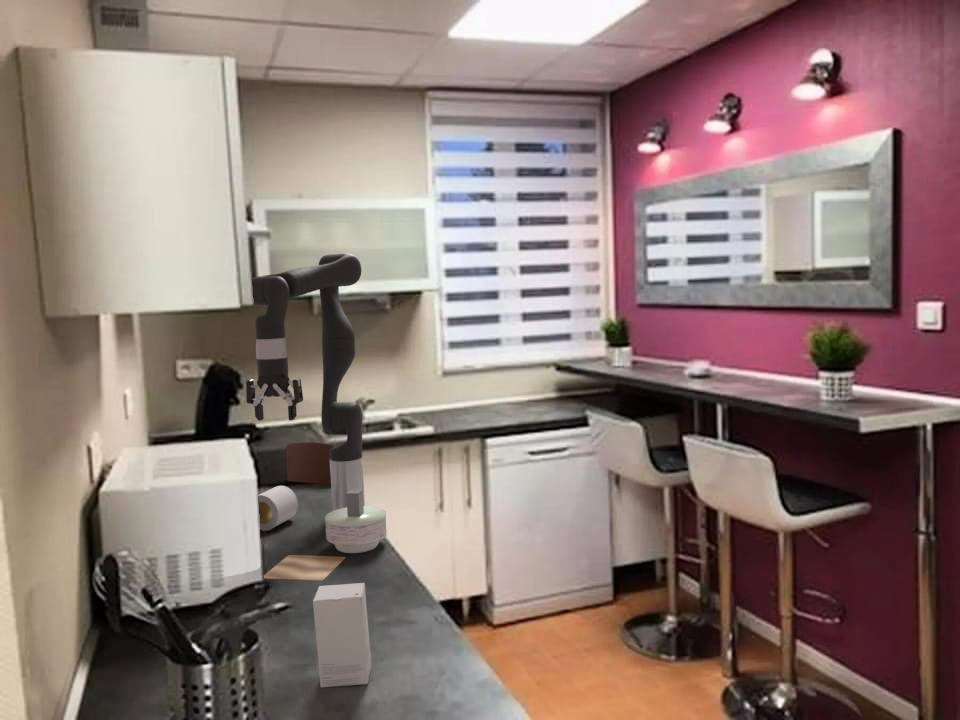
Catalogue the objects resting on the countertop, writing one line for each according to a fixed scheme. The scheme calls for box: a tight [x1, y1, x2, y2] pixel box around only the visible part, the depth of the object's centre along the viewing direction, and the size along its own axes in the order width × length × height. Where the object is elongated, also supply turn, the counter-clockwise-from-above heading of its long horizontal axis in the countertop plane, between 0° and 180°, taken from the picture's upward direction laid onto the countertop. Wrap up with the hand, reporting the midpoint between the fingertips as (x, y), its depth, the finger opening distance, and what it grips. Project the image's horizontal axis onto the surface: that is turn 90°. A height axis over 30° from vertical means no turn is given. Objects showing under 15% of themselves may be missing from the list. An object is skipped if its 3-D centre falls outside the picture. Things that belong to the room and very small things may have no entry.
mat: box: [263, 554, 347, 582], centre depth 186 cm, size 15×15×1 cm
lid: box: [324, 490, 387, 527], centre depth 199 cm, size 15×15×7 cm
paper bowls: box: [324, 516, 388, 554], centre depth 200 cm, size 15×15×8 cm
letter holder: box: [286, 441, 336, 485], centre depth 270 cm, size 10×20×14 cm, turn 71°
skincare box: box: [312, 582, 372, 688], centre depth 134 cm, size 8×7×16 cm
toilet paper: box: [258, 485, 299, 532], centre depth 221 cm, size 10×10×10 cm
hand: (276, 420), depth 199 cm, fingers open, 8 cm apart
